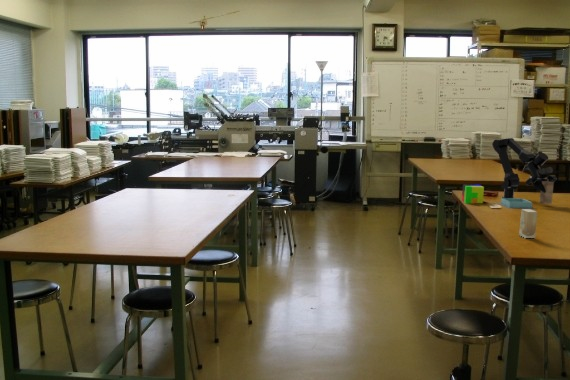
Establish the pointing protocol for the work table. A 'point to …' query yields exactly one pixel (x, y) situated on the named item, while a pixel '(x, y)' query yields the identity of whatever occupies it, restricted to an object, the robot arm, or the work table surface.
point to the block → (547, 192)
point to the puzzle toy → (472, 194)
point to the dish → (516, 203)
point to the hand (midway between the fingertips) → (548, 192)
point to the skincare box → (528, 223)
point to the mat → (515, 208)
